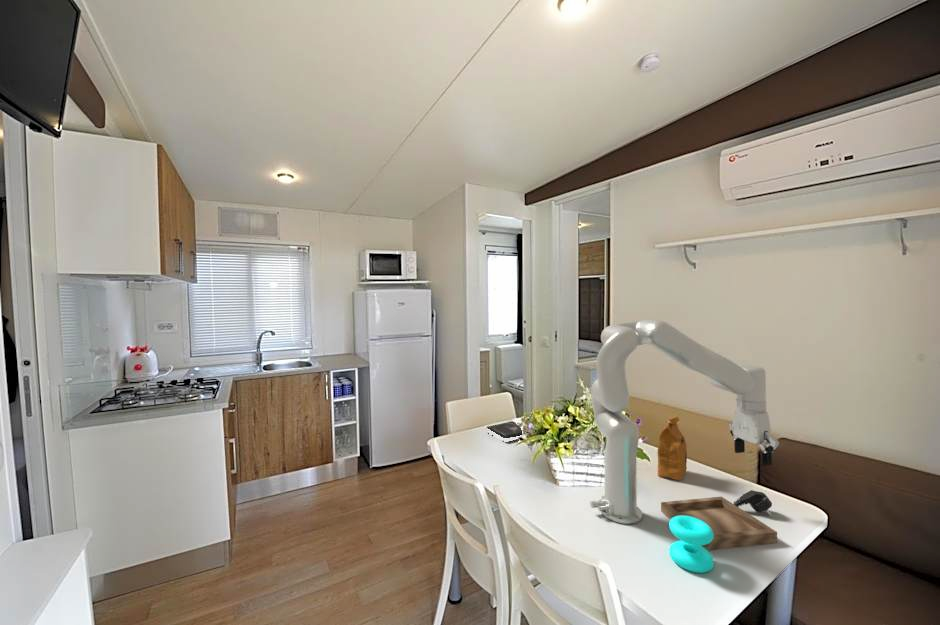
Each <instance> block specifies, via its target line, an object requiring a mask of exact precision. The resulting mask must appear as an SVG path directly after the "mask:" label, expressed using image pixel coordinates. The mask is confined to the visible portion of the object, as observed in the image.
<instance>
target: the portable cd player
mask: <svg viewBox="0 0 940 625" xmlns="http://www.w3.org/2000/svg"><path fill="white" fill-rule="evenodd" d="M516 423H517V422H514V421H507V422H503V423H499V424H493V425H488V426H486V429H487V428H488V429H490V430H491V431H493V432H495V433H496V434H498V435H500V436H501V437H503V438H510V437H516V436H520V435H522V430H521V428H520V427H519V426H518V425H517V424H518V423H517V424H516Z"/></svg>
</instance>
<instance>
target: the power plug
mask: <svg viewBox="0 0 940 625" xmlns="http://www.w3.org/2000/svg"><path fill="white" fill-rule="evenodd" d="M733 504H734V505H736V506H737V507H739V508H740V507H741V506H742V507H743V506H745V505H750V507H751V508H752V509H753V511H755V512H758V513H763V512H765V513H766V514H767V515H768V516H772V513H771V512H770V511H769V509H771V508H772V506H773V503H772V501H771V500H770V499H769V497H768V496H767V495H766V493H765V492H762V491H757V490H753V489H751V490H749V491H747V492H745V493H743V494H742V495H740V497H738V498H737V499H736V500H735V501H733Z"/></svg>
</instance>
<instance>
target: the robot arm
mask: <svg viewBox="0 0 940 625" xmlns="http://www.w3.org/2000/svg"><path fill="white" fill-rule="evenodd" d="M600 341H601V343H602V347H601V348H600V350H599V352H598V354H597V356H596V374H597V375H596V376H597V378H596V379H595V380H594V381H593V383H592V385H591V387H590V388H591V389H590V396H591V397H590V398H591V402H592V410H593V415H594V421H595V425H596V427H597V429H598V431H600V433H601V434H603V436H604V437H605V440H606V442H605V443H606V444H605V448H604V457H603V459H604V461H603V462H604V495H601V499H598V500H593V501H592V500H591V501H590V502H589V504H590V507H591V508H592V509H596V508H597V510H598V511H599V512H600V513H601V515H602V516H604V518H606V519H608V520H610V521H612V522H615V523H620V524H625V525H626V524H636V523H638V522H640V521H642V518H643V511H642V509H640V508H639V506H638V505H637V503H638V502H637V501H638V500H637V499H638V497H637V495H638V494H637V491H638V490H637V485H638V484H637V481H638V480H637V453H638V452H637V451H638V445H639V439H640V435H639V434H640V432H639V430H638V427H637V425H636V423H635V422H634V421H633V420H632V419H631V418H630V417H628V416H627V415H626V414H625V413H623V412H624V411H625V410H626V409H628V407H629V404H630V393H629V387H628V380H627V375H626V363H627V362H626V361H628V357H629V356H630V355H631V354H632V353H633V352H634V351H635V350H636V349H637V348H638V346H642V345H647V346H651V347H653V348H654V349H656V350H658V351H659V352H661V353H663V354H664V355H665V356H667V357H669V358H670V359H672V360H673V361H675V362H677V363H678V364H679V365H681V366H683V367H685V368H687V369H689V370H692V371H694V372H696V373H700V374H701V375H704V376H706V379H707V382H708V383H709V384H710V385H711V386H713V387H715V388H717V389H720V390H723V391H726V392H729V393H731V394H734V395H736V398H735V400H736V405H735V406H734V410H733V415H732V423H728V424H727V425H728V428H729V430H730V431H729V432H730V434H731V437H732V440H733V442H734V447H733V448H734V453H736V454H742V453H745V451H746V450H745V447H746V446H745V444H746V443H745V442H747V443H749V444H753V445H755V446H756V445H757V446H759V448H760V450H761V451H760V465H761V466H771V465H772V464H773V461H772V460H773V459H772V456H773V453H774V452H775V451H777V449H778V447H779V445H780V441H778V439H776V437H775V436H773V435H772V431H771V430H772V429H771V428H772V427H771V422H770V417H769V413H768V411H767V383H766V382H767V381H766V380H767V378H766V377H767V376H766V370H765V369H764V368H763V367H762V366H758V365H748V364H747V365H746V364H745V365H738V364H737V363H735V362H734V361H732V360H731V359H730V358H729V359H728V358H727V357H725V356H723V355H721V354H719V353H717V352H715V351H714V350H712V349H710V348H708V347H706V346H705V345H702V344H701V343H699V342H697V341H695V340H694V339H692V338H691V337H689V336H688V335H686V334H685V333H683V332H682V331H680V330H679V329H677V328H676V327H674V326H672V324H669V323H668V322H666V321H663V320H661V319H649V318H648V319H641V320H635V321H629V322H622V323H617V324H611V325H608V326H606V327H605V328H603V330H602V331H601V334H600Z"/></svg>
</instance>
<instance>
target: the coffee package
mask: <svg viewBox="0 0 940 625" xmlns="http://www.w3.org/2000/svg"><path fill="white" fill-rule="evenodd" d="M679 421H680V418H679V417H678V416H677V415H675V416H673V417H671V418H669V419H668V421H667V425H665V427H664V428H663V430H662V431H661V432H660V434H659V438H658V445H657V476H659V477H661V478H670V479H672V480H678V481H681V480H682V479H683V478H684V477H685V475H686V472H687V461H688V460H687V459H688V453H687V452H688V451H687V443H686V440H685V436H684V435H683V433H682V432H681V431H680V429H679V426H678V423H679Z"/></svg>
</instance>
